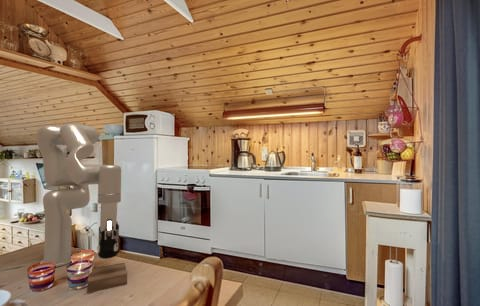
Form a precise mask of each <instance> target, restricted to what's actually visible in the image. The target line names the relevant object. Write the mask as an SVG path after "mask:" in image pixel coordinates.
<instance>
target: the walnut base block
mask: <svg viewBox="0 0 480 306" xmlns="http://www.w3.org/2000/svg"><path fill="white" fill-rule="evenodd" d="M92 268H93V269H92V272H91V275H89V274H88V277H87V285H86V286H87V287H86V289H87V290H86V292H87V294H88V293H94V292H98V291H102V290H108V289H111V288H116V287H121V286H125V285H127V284H128V271H127V268H126V262H120V263H115V264H110V265H109V264H108V265H103V266H98V267H96V266H95V267H92Z"/></svg>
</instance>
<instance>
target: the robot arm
mask: <svg viewBox="0 0 480 306" xmlns="http://www.w3.org/2000/svg"><path fill="white" fill-rule="evenodd" d="M99 137H100V136H99V131H98V130H97V128H95V126H91V125H87V124H79V123H65V124H63V125H62V126H61V125H43V126H40V127H39V128H38V130H37V133H36V145H37V148H38V149H39V152H40V154H41V157H42V165H43V173H44V180H45V183H46V185H47V186H48V187H50V188H51V187H53V188H54V187H56V188H57V187H71V188H59V189H52V190H50V191H47V192H46V193H45V194H44V196H43V198H42V205H43V210H44V211H43V212H44V243H43V247H44V248H43V259H41V260H40V261H39V263H41V262H55V263H56V267H55V268H58V267H62V266H65V265H68V264H71V263H72V262H71V255H72V230H73V229H72V228H73V227H72V226H73V220H72V217H71V215H69V214H68V212H67V211H70V210H77V209H82V208H85V207H87V206H88V205H89V203H90V200H91V199H90V198H91V195H90V189H89V188H90V186H91V185H98V186H97V204H99V205H100V214H99V215H100V217H99V218H100V219H99V221H100V222H99V227H100V231H101V232H102V231H104V230H105V239H104V251H110V250H114V238H113V231H114V230H115V229H116V221H117V216H118V204H119V203H121V202H122V167H121V166H120V165H117V164H112V165H111V164H83V163H81V162H80V161H82V160H84V159H87V158H89V157H90V156H91V155H92V154H93V153H94V151H95V147H94V144H96V143H97V142H98V140H99ZM59 146H66V148H67V150H68V152H69V153H68V155H67V156H66V153H64V151H63V150H62V149H61V148H60V147H59ZM89 185H90V186H89ZM113 227H114V228H113ZM111 228H112V230H111ZM106 229H107V230H106ZM113 229H114V230H113ZM111 232H112V233H111ZM106 233H107V234H106ZM70 262H71V263H70ZM39 263H38V264H39Z"/></svg>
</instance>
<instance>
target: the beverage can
mask: <svg viewBox="0 0 480 306" xmlns="http://www.w3.org/2000/svg"><path fill="white" fill-rule="evenodd" d="M118 223H119V222H118V221H117V220H116V229H115V230H114V229H113V230H114V231H113V238H114V250H110V251H104V239H105V230H104V231H102V232H101V231H100V226H99V227H98V244H97V245H98V246H97V247H98V251H97V253H98V254H97V255H98V257H99V258H100V259H103V260H104V259H111V258H114V257H116V256H117V255H118V254H119V246H120V245H119V244H120V240H119V239H120V225H119V224H118ZM113 228H114V227H113ZM106 230H107V229H106ZM111 230H112V228H111ZM111 233H112V232H111ZM106 234H107V233H106Z"/></svg>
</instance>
